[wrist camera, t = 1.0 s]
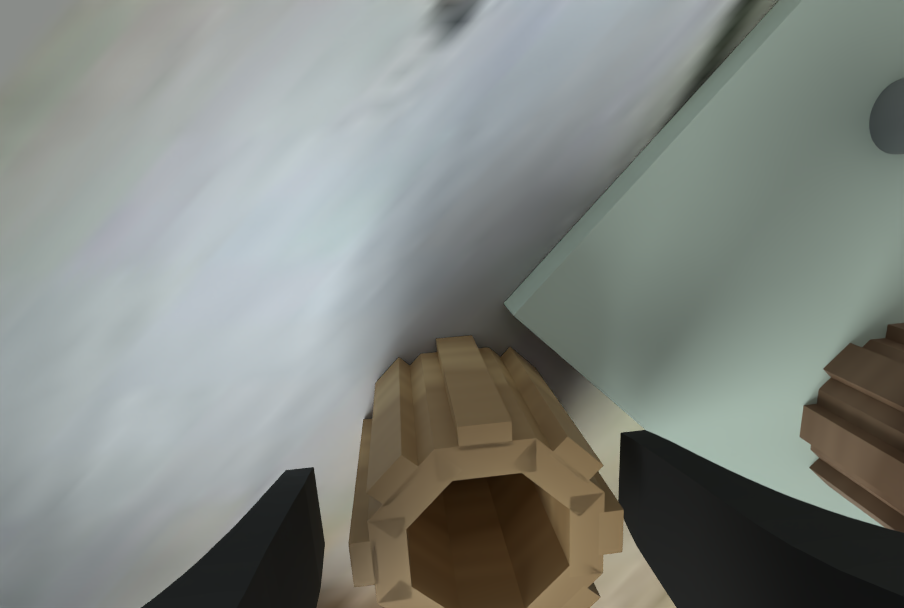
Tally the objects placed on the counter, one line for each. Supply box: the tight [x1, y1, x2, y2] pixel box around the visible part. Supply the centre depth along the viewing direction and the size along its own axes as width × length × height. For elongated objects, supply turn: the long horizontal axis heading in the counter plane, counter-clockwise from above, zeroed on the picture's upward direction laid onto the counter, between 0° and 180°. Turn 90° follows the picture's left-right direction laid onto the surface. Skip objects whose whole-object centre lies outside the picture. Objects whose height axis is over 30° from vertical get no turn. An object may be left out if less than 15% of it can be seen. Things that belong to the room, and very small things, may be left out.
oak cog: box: [349, 335, 624, 608], centre depth 13 cm, size 5×5×5 cm
